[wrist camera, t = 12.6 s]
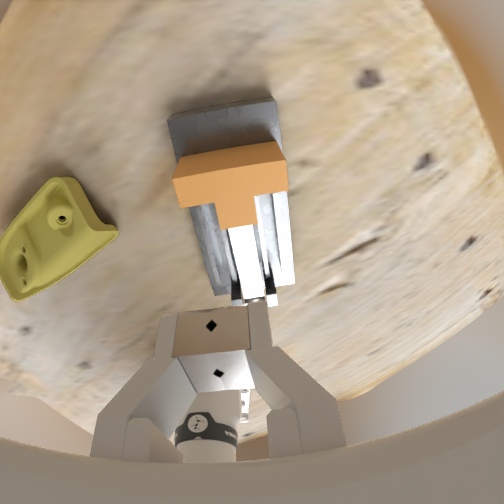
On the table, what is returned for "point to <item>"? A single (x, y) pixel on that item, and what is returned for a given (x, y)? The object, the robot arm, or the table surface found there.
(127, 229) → the table surface
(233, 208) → the clip
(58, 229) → the plastic component
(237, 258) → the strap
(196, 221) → the heatsink
